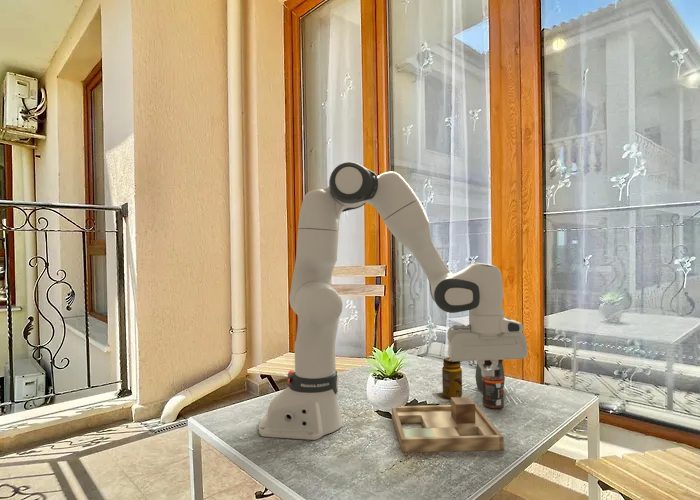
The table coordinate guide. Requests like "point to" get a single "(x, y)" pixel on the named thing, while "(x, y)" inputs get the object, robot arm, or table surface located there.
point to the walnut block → (462, 410)
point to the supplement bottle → (493, 390)
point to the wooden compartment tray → (444, 430)
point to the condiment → (450, 380)
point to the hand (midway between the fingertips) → (487, 376)
